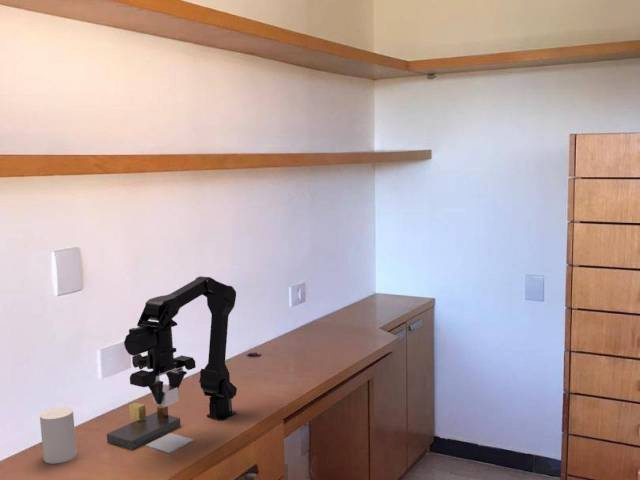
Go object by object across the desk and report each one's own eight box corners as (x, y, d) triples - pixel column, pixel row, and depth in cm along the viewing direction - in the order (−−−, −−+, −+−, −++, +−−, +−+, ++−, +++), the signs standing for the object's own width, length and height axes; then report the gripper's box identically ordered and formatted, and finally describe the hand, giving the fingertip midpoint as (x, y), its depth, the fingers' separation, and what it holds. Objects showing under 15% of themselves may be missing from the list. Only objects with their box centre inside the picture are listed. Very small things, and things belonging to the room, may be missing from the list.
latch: (136, 415, 193) (135, 402, 193) (145, 418, 191) (144, 404, 191) (130, 418, 191) (129, 405, 191) (139, 421, 189) (138, 407, 189)
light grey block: (165, 398, 182) (164, 384, 181) (178, 401, 179) (177, 387, 179) (153, 403, 178) (152, 389, 178) (166, 406, 175) (165, 392, 175)
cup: (80, 449, 179) (77, 406, 177) (70, 462, 170) (66, 418, 169) (50, 450, 178) (46, 407, 177) (38, 464, 170) (34, 419, 169)
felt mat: (170, 434, 186) (170, 432, 186) (193, 440, 181) (193, 439, 181) (145, 446, 179) (145, 444, 179) (169, 453, 174) (169, 452, 174)
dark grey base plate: (156, 419, 197) (155, 402, 196) (180, 426, 191) (179, 408, 191) (107, 442, 182) (105, 423, 181) (131, 450, 177) (130, 430, 176)
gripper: (167, 333, 189) (171, 385, 191) (113, 350, 174) (118, 407, 176) (195, 338, 183) (198, 392, 185) (142, 356, 167) (146, 415, 169)
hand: (165, 401), depth 179 cm, fingers closed on light grey block, 4 cm apart
